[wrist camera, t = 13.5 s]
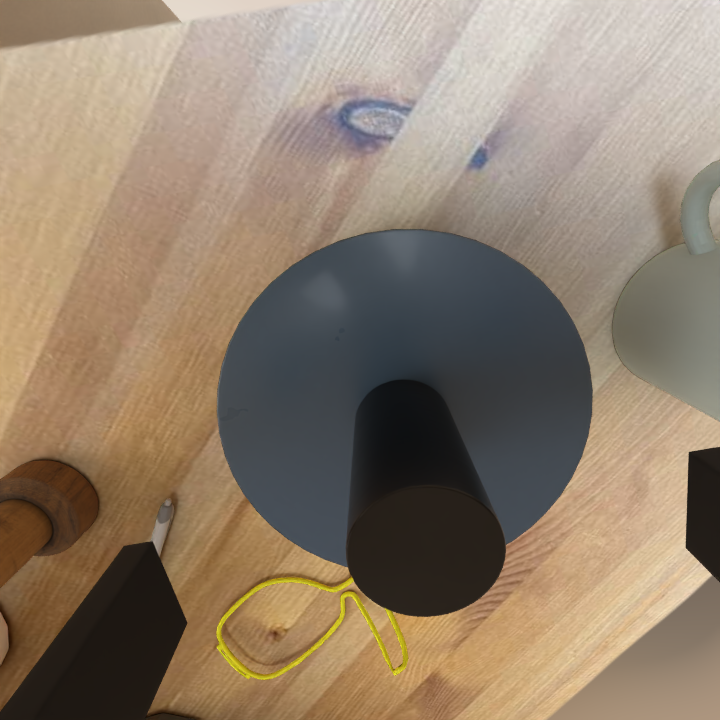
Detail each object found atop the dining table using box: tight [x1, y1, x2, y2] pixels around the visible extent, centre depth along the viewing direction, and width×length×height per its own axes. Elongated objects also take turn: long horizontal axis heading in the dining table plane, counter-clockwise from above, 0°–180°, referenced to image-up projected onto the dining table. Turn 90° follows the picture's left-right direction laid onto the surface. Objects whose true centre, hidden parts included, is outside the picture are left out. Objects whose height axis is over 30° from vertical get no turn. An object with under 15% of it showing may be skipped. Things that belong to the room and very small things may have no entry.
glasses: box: [216, 577, 408, 680], centre depth 30 cm, size 25×10×5 cm, turn 134°
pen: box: [150, 498, 174, 557], centre depth 32 cm, size 1×14×1 cm, turn 160°
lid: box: [217, 229, 593, 617], centre depth 15 cm, size 16×16×9 cm
